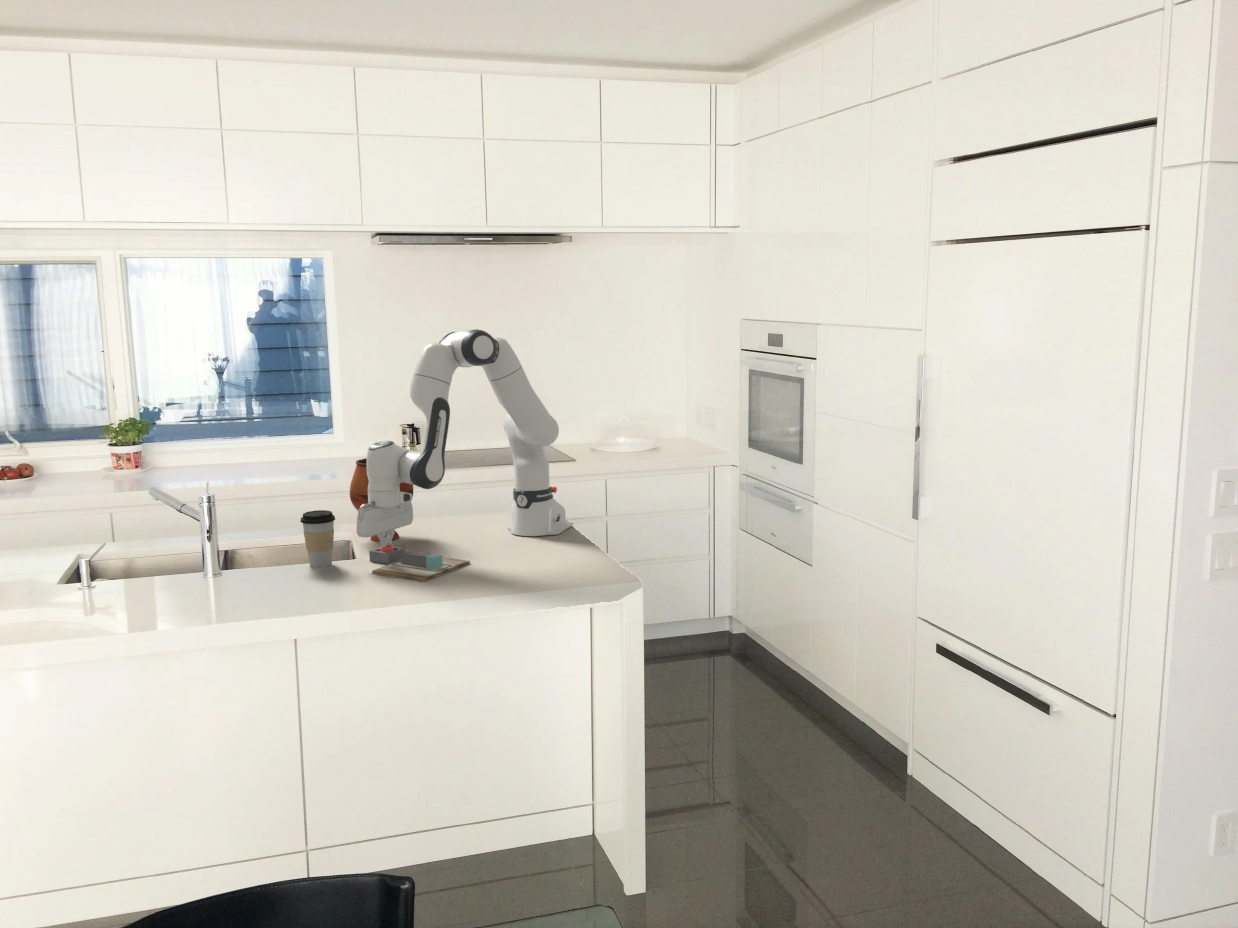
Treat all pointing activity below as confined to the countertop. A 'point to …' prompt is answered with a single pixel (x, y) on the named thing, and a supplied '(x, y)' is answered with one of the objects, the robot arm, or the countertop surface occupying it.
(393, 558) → the button housing
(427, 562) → the block
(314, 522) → the coffee cup
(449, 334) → the robot arm
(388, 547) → the button
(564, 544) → the countertop surface
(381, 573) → the drawing board
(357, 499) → the goblet
